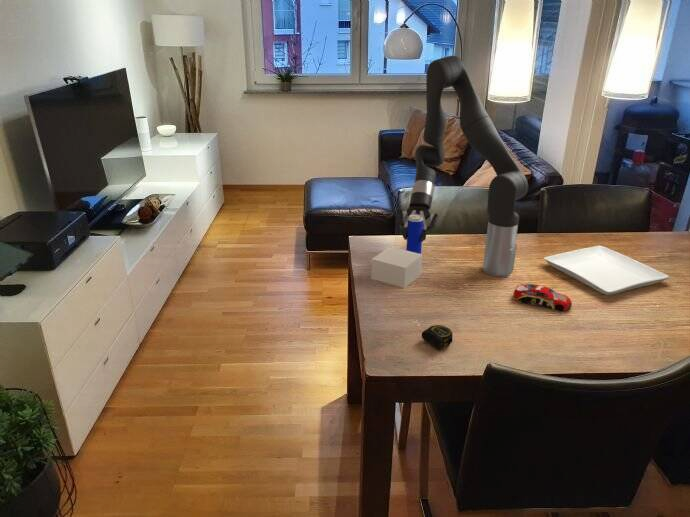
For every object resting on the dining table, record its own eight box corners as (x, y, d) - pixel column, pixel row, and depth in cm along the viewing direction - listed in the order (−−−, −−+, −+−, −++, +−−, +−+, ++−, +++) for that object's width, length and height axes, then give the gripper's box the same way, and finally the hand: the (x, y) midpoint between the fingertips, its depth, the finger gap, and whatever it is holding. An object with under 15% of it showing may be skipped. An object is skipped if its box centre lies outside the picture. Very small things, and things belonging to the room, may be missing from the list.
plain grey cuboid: (421, 273, 173) (422, 254, 170) (404, 288, 164) (405, 267, 161) (389, 265, 179) (390, 246, 176) (371, 278, 170) (371, 259, 167)
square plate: (606, 303, 156) (609, 291, 154) (540, 266, 179) (542, 256, 177) (668, 285, 166) (671, 274, 165) (598, 253, 189) (600, 243, 187)
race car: (572, 305, 155) (575, 290, 153) (569, 315, 150) (572, 300, 147) (516, 292, 162) (518, 277, 160) (511, 301, 157) (513, 286, 154)
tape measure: (419, 341, 137) (420, 329, 136) (439, 333, 141) (440, 321, 139) (438, 353, 132) (439, 341, 130) (457, 345, 135) (458, 332, 134)
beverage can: (420, 254, 186) (423, 214, 180) (421, 260, 182) (423, 219, 175) (406, 253, 187) (407, 213, 181) (406, 259, 182) (408, 219, 176)
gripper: (400, 189, 184) (391, 233, 178) (441, 192, 180) (433, 238, 174) (403, 199, 190) (394, 241, 185) (443, 202, 186) (435, 246, 181)
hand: (413, 239), depth 180 cm, fingers closed on beverage can, 5 cm apart
